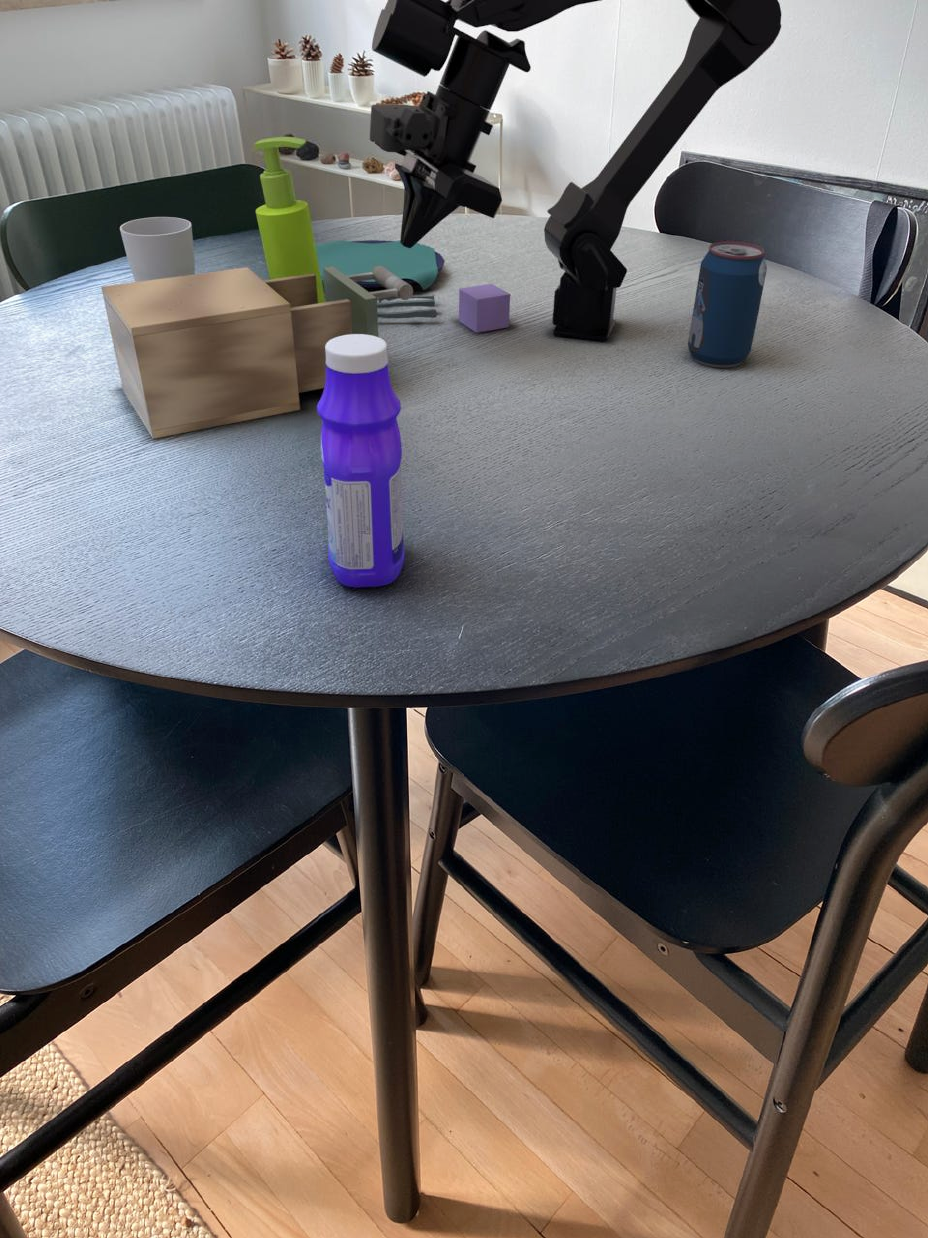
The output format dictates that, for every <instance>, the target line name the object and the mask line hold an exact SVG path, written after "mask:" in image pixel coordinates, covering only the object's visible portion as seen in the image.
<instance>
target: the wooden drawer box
mask: <svg viewBox="0 0 928 1238" xmlns="http://www.w3.org/2000/svg"><path fill="white" fill-rule="evenodd" d="M263 280H264V279H262V278H261V277H260V276H259V275H257V274H256V273H255V272H253V271H252V270H251V268H249V267H247V266H245V267H240V268H231V269H223V270H217V271H216V270H215V271H209V272H202V273H195V274H193V275H185V276H178V277H170V278H163V279H155V280H148V281H140V282H135V281H133V282H127V283H119V284H110V285H105V286H101V293H102V295H103V296H102V297H103V302H104V307H105V311H106V316H107V320H108V326H109V331H110V335H111V340H112V344H113V349H114V354H115V359H116V363H117V369H118V373H119V378H120V382H121V388H122V391H123V393H124V394H125V397H126V398H127V400H128V401H129V403H130V404H131V406H132V407H133V409H134V410H135V412H136V414H137V415H138V417H139V419H140V421H141V422H142V424H143V426H144V427H145V428H146V431H147V432H148V433H149V435H150V437H151V438H152V440H156V439H159V438H166V437H170V436H176V435H179V434H186V433H190V432H194V431H200V430H206V429H211V428H215V427H220V426H221V427H222V426H225V425H231V424H236V423H241V422H245V421H251V420H255V419H260V418H265V417H270V416H276V415H281V414H286V413H291V412H296V411H300V410H301V406H300V405H301V403H300V394H299V393H298V383H297V372H296V362H295V351H294V340H293V330H292V319H291V309H290V303H288V302H287V301H286V300H285V299H284V298H283V297H281V296H280V295H279V294H278V293H277V292H276V291H274V290H273V289H272V288H271V287H270V286H269V285H267V284H266V283H265V282H264V281H263Z"/></svg>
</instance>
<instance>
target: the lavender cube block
mask: <svg viewBox="0 0 928 1238" xmlns="http://www.w3.org/2000/svg"><path fill="white" fill-rule="evenodd" d="M510 307H511V293H509V292H507V291H505V290H504V289H502V288H500V287H498V286H496V285H495V284H493V283H487V284H480V285H473V286H467V287H466V286H465V287H461V288H458V322H459V323H461V324H462V325H464V326H465V327H466V328H468V329H470V330H471V331H473V332H474V333H475V334H479V333H483V332H485V333H486V332H489V331H494V330H501V329H506V328H509V327H510V310H511V309H510Z"/></svg>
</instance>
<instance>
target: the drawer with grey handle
mask: <svg viewBox="0 0 928 1238" xmlns="http://www.w3.org/2000/svg"><path fill="white" fill-rule="evenodd" d="M371 279H374V280H375V281H376V282H378V283H379V284H381V285H382V286H384V287H383V288H385V289H383V290H382V289H381V290H376V291H368V290H367V289H365V287H361V286H360V285H358V284H357V283H355V282H358V281H364V280H371ZM262 280H263V281H264V282H265V283H266V284H267V285H269V286H270V287H271V288H272V289H273V290H274V291H276V292H277V293H278V294H279V295H280V296H281V297H283V298H284V299H285V300H286V301H287V302H288V303H290V309H291V319H292V330H293V340H294V351H295V362H296V372H297V383H298V393H305V392H310V391H316V390H321V389H324V388H325V381H326V352H325V345H326V343H327V342H328V341H329V340H331V339H333V338H336V337H339V336H343V335H350V334H366V335H372V336H376V337H379V319H378V318H379V317H378V315H377V312H378V307H377V303H378V300H377V299H379V298H386V297H392V296H398V297H400V298H399V299H401V300H402V301H409V300H410V299H412V298H411V296H413V295H414V289H413V286H412V285H411V284H410V283H406V282H405V281H403V280H402V279H400V278H399V277H397V276H395V275H394V274H392V273H391V272H389V271H388V270H386V269H385V268H383V267H382V266H376V267H374V268H373V270H372V272H369V273H362V274H355V275H348V276H346V275H344V274H343V273H341V272H340V271H339V270H337V269H336V268H334V267H333V266H332V267H325V268H323V280H324V286H323V291H324V296H325V303H319V304H318V296H317V283H316V275H315V274H313V273H312V274H305V275H298V276H290V277H283V278H276V279H270V278H269V279H262Z"/></svg>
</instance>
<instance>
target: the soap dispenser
mask: <svg viewBox="0 0 928 1238" xmlns="http://www.w3.org/2000/svg"><path fill="white" fill-rule="evenodd" d="M307 142H308V140H307V139H303V138H299V137H293V136H275V137H270V138H263V139H259V140H258V141H256V142H254V143H253V147H254V150H255V151H257V150H262V154H263V159H264V164H265V170H264V171H263V173H261V174H260V175H259V179H260V184H261V188H262V189H261V190H262V194H263V198H264V203H265V204H263V205H261V206H259V207H257V208H256V209H255V215H256V221H257V223H258V224H257V226H258V229H259V234H260V239H261V244H262V249H263V254H264V257H265V262H266V267H267V273H268V277H269V279H276V278H283V277H290V276H298V275H305V274H312V273H313V274H315V275H316V283H317V296H318V304H319V303H325V297H324V296H325V293H324V286H323V285H322V280H321V274H320V269H319V263H318V258H317V252H316V246H317V245H316V241H315V236H314V235H315V234H314V230H313V225H312V219H311V214H310V208H309V203H308V202H307V201H305V200H301V199H296V194H295V193H296V192H295V189H294V183H293V176H292V172H291V171H290V170H289V169H287V168H285V167H282V161H281V156H280V150H279V148H292V149H293V148H294V149H297V150H299V149H300V148H302V147H303V146H305V144H306V143H307Z"/></svg>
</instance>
